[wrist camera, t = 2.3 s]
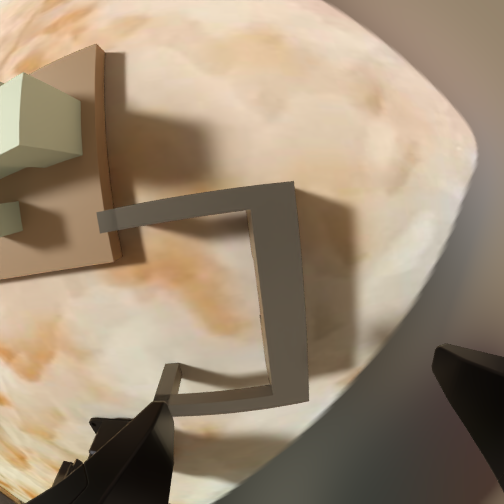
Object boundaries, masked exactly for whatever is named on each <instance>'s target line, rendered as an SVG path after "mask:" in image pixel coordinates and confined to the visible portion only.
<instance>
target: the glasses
mask: <svg viewBox="0 0 504 504" xmlns="http://www.w3.org/2000/svg"><path fill="white" fill-rule="evenodd" d="M244 210H246V213H247V221H248V229H249V236H250V244H251V252H252V257H253V260H254V267H255V274H256V282H257V290H258V298H259V306H260V314H261V315H260V322H261V330H262V338H263V345H264V353H265V361H266V367H267V372H268V377H269V382H270V385H265V386H258V387H251V388H243V389H235V390H226V391H215V392H203V393H188V394H178V390H179V386H180V381H181V377H182V372H181V369H180V366H179V363H174V364H165V367H164V370H163V373H162V376H161V379H160V382H159V385H158V388H157V391H156V394H155V397H154V400H153V401H164V402H166V403H167V405H168V408H169V410H170V413H171V415H172V417H178V416H201V415H215V414H227V413H237V412H245V411H253V410H261V409H268V408H274V407H280V406H286V405H292V404H297V403H302V402H307V401H309V382H308V353H307V332H306V314H305V298H304V284H303V271H302V258H301V247H300V236H299V225H298V215H297V206H296V197H295V188H294V181H291V182H281V183H272V184H263V185H255V186H247V187H239V188H231V189H224V190H217V191H210V192H203V193H197V194H191V195H184V196H178V197H172V198H167V199H161V200H155V201H150V202H144V203H139V204H134V205H129V206H124V207H119V208H114V209H109V210H105V211H100V212H96V213H97V220H98V225H99V231H100V234H101V233H106V232H111V231H117V230H122V229H128V228H133V227H139V226H145V225H151V224H157V223H163V222H169V221H175V220H181V219H188V218H194V217H201V216H208V215H215V214H222V213H229V212H236V211H244Z"/></svg>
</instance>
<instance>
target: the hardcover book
mask: <svg viewBox="0 0 504 504" xmlns="http://www.w3.org/2000/svg"><path fill="white" fill-rule="evenodd" d="M0 504H21V503H20V501H19V499H18V498H16V497H15V496H13V495H12V494H10V493H9V492H7V491H6V490H5V489H3V488H2V487H1V486H0Z"/></svg>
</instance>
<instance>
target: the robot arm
mask: <svg viewBox="0 0 504 504" xmlns="http://www.w3.org/2000/svg"><path fill="white" fill-rule="evenodd" d="M432 371H433V373H434V375H435V377H436V379H437V381H438V382H439V384H440V386H441V388H442V390H443V392H444V394H445V395H446V397H447V399H448V401H449V403H450V404H451V406H452V407H453V409H454V410H455V412H456V413H457V415H458V416H459V418H460V419H461V421H462V422H463V424H464V426H465V427H466V428H467V430H468V432H469V433H470V435H471V436H472V438H473V440H474V441H475V443H476V445H477V446H478V448H479V449H480V451H481V453H482V454H483V456H484V458H485V459H486V461H487V463H488V464H489V466H490V468H491V470H492V471H493V473H494V475H495V477H496V479H497V480H498V482H499V484H500V486H501V488H502V490H503V492H504V357H501V356H497V355H493V354H488V353H484V352H480V351H475V350H471V349H467V348H462V347H459V346H454V345H451V344H443V345H440V346H438V347H437V348H436V349H435V353H434V358H433V363H432ZM89 423H90V425H91V427H92V429H93V430H94V432H95V433H96V436H95V438H94V441H93V443H92V445H91V447H90V450H89V453H90V454H89V457H88V459H87V460H86V461H85V462H84V464H83V462H81V461H80V460H78V459H76V460H75V462H74V463H72V462H67V461H63V463H62V465H61V467H60V470H59V472H58V474H57V476H56V478H55V480H54V483H53V485H52V487H51V488H50V489H48V490H46V491H45V492H43V493H42V494H40V495H38V496H37V497H35V498H33V499H32V500H30V501H28V502H27V503H25V504H168V501H169V493H170V486H171V479H172V472H173V466H174V461H173V456H174V421H173V418H172V415H171V413H170V410H169V408H168V405H167V403H166V402H164V401H153V402H151V403H150V404H149V405H148V406H147V407H146V408H145V409H144V410H142V411H141V412H140V413H139V414H138V415H137V416H136V417H135V418H134V419H133V420H132V421H126V420H111V419H99V418H91V419H90V421H89ZM169 504H170V503H169Z"/></svg>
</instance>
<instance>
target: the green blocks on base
mask: <svg viewBox="0 0 504 504" xmlns="http://www.w3.org/2000/svg"><path fill="white" fill-rule="evenodd" d="M104 61H105V52H104V51H103V50H102V49H101V48H100V47H99V46H98V45H97V44H94V45H91V46H89V47H86V48H84V49H81V50H79V51H76V52H74V53H72V54H69V55H67V56H65V57H63V58H60V59H58V60H56V61H54V62H52V63H50V64H48V65H46V66H44V67H42V68H40V69H38V70H36V71H34V72H32V73H31V74H29V75H28V74H26V73H24V72H23V73H21V74H19V75H18V76H16V77H14V78H13V79H11V80H9V81H8V82H6V83H5V84H4V83H2V82H0V280H1V279H7V278H13V277H20V276H26V275H32V274H39V273H45V272H51V271H58V270H64V269H71V268H78V267H84V266H91V265H97V264H104V263H111V262H115V261H116V260H118V259H119V258H121V257H122V251H121V246H120V241H119V235H118V230H117V231H111V232H106V233H101V234H100V231H99V225H98V220H97V213H96V212H100V211H105V210H109V209H114V206H113V199H112V192H111V184H110V176H109V167H108V156H107V145H106V130H105V108H104Z"/></svg>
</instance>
